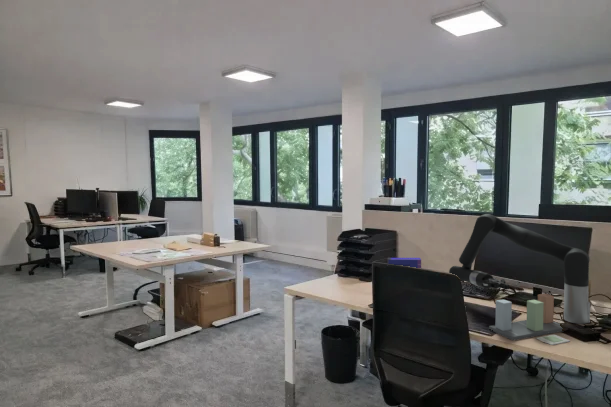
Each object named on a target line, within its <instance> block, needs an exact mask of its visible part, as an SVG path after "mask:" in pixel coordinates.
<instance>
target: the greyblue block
mask: <svg viewBox="0 0 611 407" xmlns="http://www.w3.org/2000/svg"><path fill="white" fill-rule="evenodd" d="M512 306H513V304H512V301H510V300H506V299H498V300H497V299H496V300H495V321H494V322H495V324H494V325H495V327H496V328H498V329H500V330H502V331H505V330H511V322H512V318H513V317H512V316H513V314H512V313H513V312H512V308H513V307H512Z"/></svg>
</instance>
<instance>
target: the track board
mask: <svg viewBox="0 0 611 407" xmlns="http://www.w3.org/2000/svg"><path fill="white" fill-rule="evenodd" d="M560 324H561V323H560V322H556V321H554V320H553V322H552V323H543V330H540V331H533V330H531V329H528V328H527V319H524V320H518V321H517V320H516V321H511V330H505V331H502V330H500V329H498V328H496V327H495V324H493V325H489V326H488V330H489V329H491V330H490V331H492V330H493V331H492V332H493V333H496V334H497V335H500V336H502V337H505V338H506V339H509V340H511V341H517V340H522V339H523V340H524V339H528V338H533V337H541V336H543V335H544V336H546V335H552V334H555V333H562V332H563V331H562V329H563V328H562V327H561V326H560Z"/></svg>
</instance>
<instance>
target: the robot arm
mask: <svg viewBox="0 0 611 407" xmlns="http://www.w3.org/2000/svg"><path fill="white" fill-rule="evenodd" d="M490 232H491V233H494V234H497V235H500V236H502V237H505V238H507V240H509V241H510V242H512V243H514V244H515V245H517V246H519V247H521V248H523V249H526V250H527V251H531V252H533V253H536V254H540V255H546V256H550V257H553V258H556V259H557V260H560V261H561V262H563V265H564V266H563V268H564V269H563V273H564V274H563V278H564V284H563V285H564V287H563V288H564V289H563V291H564V293H563V294H564V295H563V296H564V297H563V319H564V321H566V322H569V323H571V324H572V323H573V324H579V325H585V324H590V323H591V302H590V301H589V281H590V280H589V278H590V277H589V274H590V273H589V270H590V268H589V267H590V256H589V254H588V253H587V252H586V250H583V249H580V248H577V247H572V246H570V245H566V244H563V243H560V242H558V241H555V240H554V239H552V238H549V237H548V236H545V235H542V234H540V233H538V232H535V231H533V230H530V229H528V228H524V227H522V226H519V225H516V224H512V223H509V222H507V221H505V220H503V219H501V218H499V217H497V216H495V215H493V214H490V213H485V214H481V215H480V216H478V217H477V218H476V221H475V223H474V226H473V230H472V232H471V234H470V237H469V239H468V241H467V243H466V245H465V246H464V249H463V251H462V252H461V254H460V256H459V258H458V262H459V263H460V264H461V265H462V266H459V265H453V266H451V267H450V268H449V270H448V274H449V273H452V274H455V275H457V276H458V277H459V278H460V279H461V280H460V281H463V282H465V283H466V282H467V283H468V284H473V285H474V286H477V287H479V288H482V289H503V290H510V284H507V283H506V280H505V279H504V278H502V279H497V278H495V277H493V275H492V274H491V273H487V272H483V271H480V270H474V269H472V267H473V263H474V261H475V259H476V258H477V256H478V254H479V251H480V248H481V245H482V243H483V241H484V240H485V238H486V237H487V236H488V235H489V233H490Z"/></svg>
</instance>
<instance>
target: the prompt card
mask: <svg viewBox="0 0 611 407" xmlns="http://www.w3.org/2000/svg"><path fill="white" fill-rule="evenodd" d="M536 340H538V341H541V342H544V343H546V344H547V345H550V346H556V345H560V344H565V343H569V342H571V341H570V339H566V338H564V337H562V336H560V335H557V334H555V333H553V334H548V335H544V336H543V335H542V336H537V337H536Z"/></svg>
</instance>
